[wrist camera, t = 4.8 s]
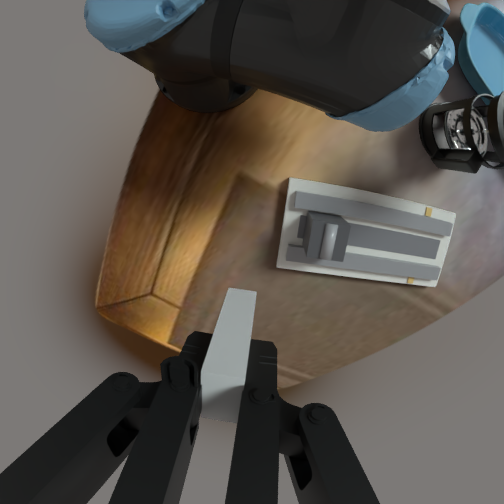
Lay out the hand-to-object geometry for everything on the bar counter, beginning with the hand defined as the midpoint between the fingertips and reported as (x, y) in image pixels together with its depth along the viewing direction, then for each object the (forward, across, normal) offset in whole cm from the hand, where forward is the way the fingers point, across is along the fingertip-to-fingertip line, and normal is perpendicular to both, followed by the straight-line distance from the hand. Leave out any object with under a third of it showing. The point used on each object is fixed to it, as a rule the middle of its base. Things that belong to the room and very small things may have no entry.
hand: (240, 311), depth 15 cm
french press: (+24, +25, +17) cm, 39 cm away
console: (+23, +16, 0) cm, 28 cm away
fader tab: (+22, +8, 0) cm, 23 cm away
